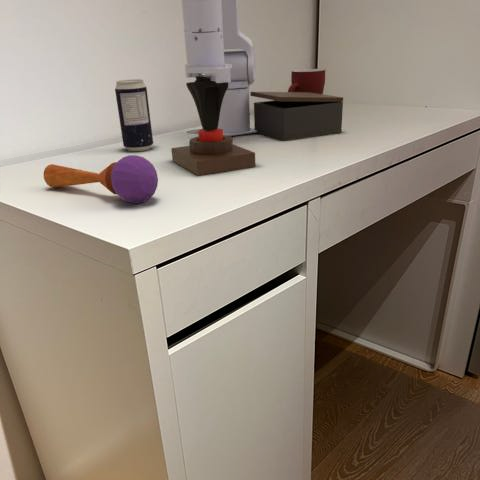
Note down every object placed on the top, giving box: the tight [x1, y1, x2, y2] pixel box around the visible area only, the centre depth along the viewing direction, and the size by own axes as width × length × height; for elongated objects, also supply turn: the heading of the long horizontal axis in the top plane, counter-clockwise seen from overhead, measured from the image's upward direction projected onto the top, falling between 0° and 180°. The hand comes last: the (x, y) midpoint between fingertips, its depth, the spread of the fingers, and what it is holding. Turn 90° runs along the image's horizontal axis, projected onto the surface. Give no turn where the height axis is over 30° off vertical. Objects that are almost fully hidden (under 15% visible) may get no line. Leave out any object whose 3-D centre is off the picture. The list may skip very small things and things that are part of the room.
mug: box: [287, 68, 326, 95], centre depth 123 cm, size 11×8×10 cm
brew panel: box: [170, 135, 256, 176], centre depth 84 cm, size 12×10×4 cm
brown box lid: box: [249, 91, 344, 103], centre depth 103 cm, size 14×13×1 cm
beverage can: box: [114, 78, 154, 152], centre depth 95 cm, size 6×6×12 cm
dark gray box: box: [253, 100, 344, 142], centre depth 105 cm, size 14×13×6 cm
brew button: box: [197, 128, 223, 142], centre depth 82 cm, size 4×4×2 cm
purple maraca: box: [43, 154, 159, 204], centre depth 70 cm, size 6×6×20 cm
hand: (210, 129), depth 82 cm, fingers closed
